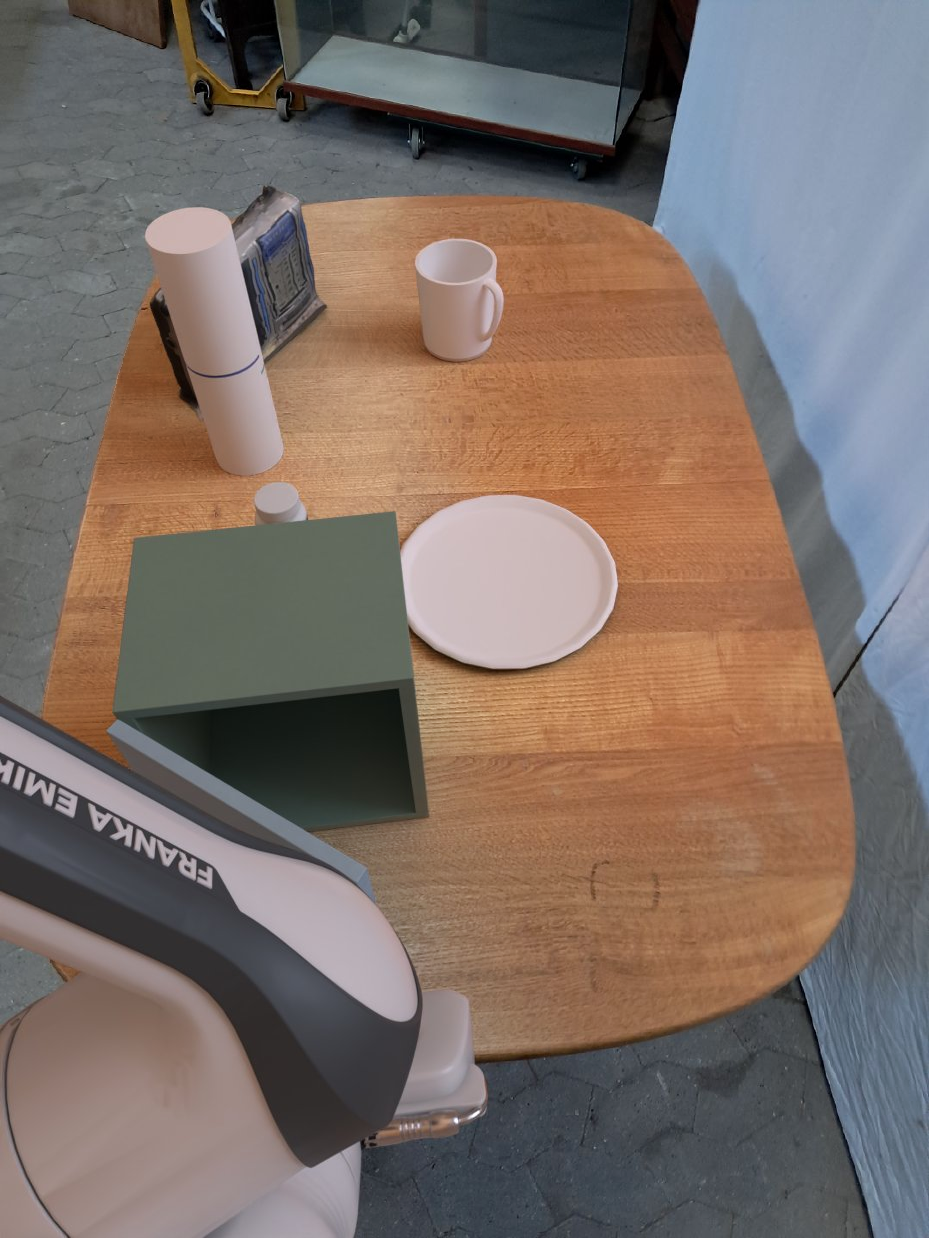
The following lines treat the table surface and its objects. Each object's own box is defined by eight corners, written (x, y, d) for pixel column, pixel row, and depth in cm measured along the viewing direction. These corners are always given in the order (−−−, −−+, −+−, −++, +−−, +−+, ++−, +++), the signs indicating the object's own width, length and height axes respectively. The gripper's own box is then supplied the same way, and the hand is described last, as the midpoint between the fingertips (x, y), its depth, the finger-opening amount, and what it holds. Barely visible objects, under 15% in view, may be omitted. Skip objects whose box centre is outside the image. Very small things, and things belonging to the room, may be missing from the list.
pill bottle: (304, 582, 85) (289, 521, 78) (258, 571, 86) (239, 510, 79) (323, 545, 88) (310, 484, 81) (279, 535, 89) (262, 473, 82)
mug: (404, 344, 107) (397, 264, 98) (454, 309, 111) (451, 229, 102) (475, 383, 102) (475, 303, 94) (525, 345, 106) (528, 264, 98)
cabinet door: (342, 1059, 60) (292, 976, 45) (141, 921, 66) (34, 805, 50) (396, 972, 64) (367, 867, 48) (200, 848, 70) (117, 718, 54)
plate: (347, 600, 84) (345, 592, 83) (481, 472, 94) (481, 463, 93) (533, 717, 76) (533, 709, 75) (658, 564, 86) (660, 555, 85)
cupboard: (429, 817, 71) (413, 678, 55) (196, 845, 70) (111, 712, 54) (413, 669, 79) (395, 510, 63) (205, 692, 78) (133, 537, 62)
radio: (199, 421, 99) (161, 301, 87) (147, 390, 102) (102, 271, 90) (341, 317, 110) (324, 197, 98) (289, 292, 113) (267, 174, 101)
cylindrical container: (203, 465, 95) (127, 243, 75) (238, 422, 99) (176, 201, 79) (262, 483, 93) (201, 261, 73) (296, 439, 97) (247, 216, 77)
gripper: (486, 1061, 41) (465, 919, 54) (22, 1123, 40) (120, 962, 53) (498, 1187, 42) (475, 1016, 55) (46, 1250, 41) (136, 1060, 54)
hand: (298, 990), depth 54 cm, fingers closed on cabinet door, 2 cm apart
